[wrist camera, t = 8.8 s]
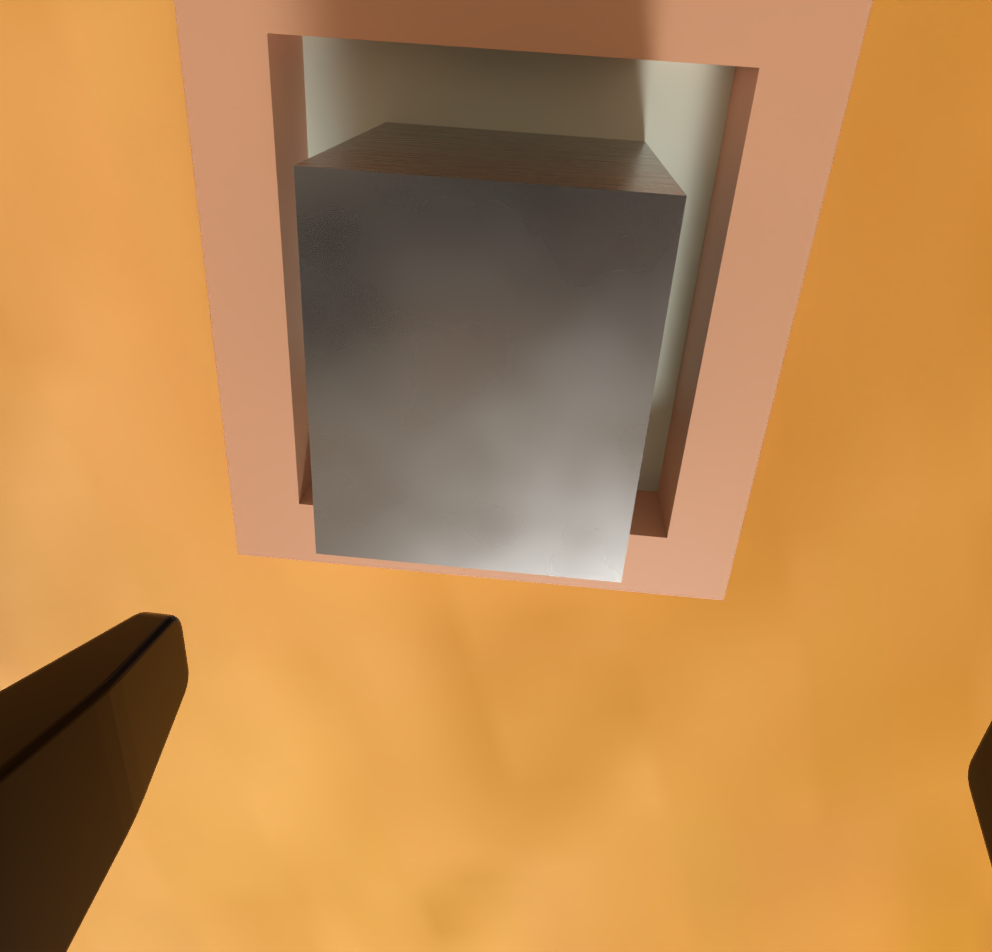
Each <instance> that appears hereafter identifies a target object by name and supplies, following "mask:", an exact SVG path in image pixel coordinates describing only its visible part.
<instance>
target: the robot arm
mask: <svg viewBox="0 0 992 952" xmlns="http://www.w3.org/2000/svg"><path fill="white" fill-rule="evenodd" d="M187 683H188V664H187V657H186V651H185V644H184V637H183V630H182V626H181V622H180V621H179V619H178V618H177V617H175V616H173V615H168V614H159V613H150V612H142V613H138V614H136V615H134V616H132V617H130V618H129V619H127V620H125V621H123V622H122V623H120V624H118V625H116V626H115V627H113V628H111V629H109V630H108V631H106V632H104V633H102V634H100V635H99V636H97V637H95V638H93V639H92V640H90V641H88V642H86V643H85V644H83V645H81V646H79V647H78V648H76V649H74V650H72V651H70V652H69V653H67V654H65V655H63V656H62V657H60V658H58V659H56V660H55V661H53V662H51V663H49V664H48V665H46V666H44V667H42V668H41V669H39V670H37V671H35V672H33V673H32V674H30V675H28V676H26V677H25V678H23V679H21V680H19V681H18V682H16V683H14V684H12V685H11V686H9V687H7V688H5V689H4V690H2V691H0V952H67V950H68V948H69V946H70V944H71V942H72V940H73V938H74V936H75V934H76V932H77V930H78V928H79V927H80V925H81V923H82V921H83V919H84V917H85V915H86V913H87V911H88V909H89V907H90V905H91V903H92V902H93V900H94V898H95V896H96V894H97V892H98V890H99V888H100V886H101V884H102V882H103V880H104V879H105V877H106V875H107V873H108V871H109V869H110V867H111V865H112V863H113V861H114V859H115V857H116V855H117V854H118V852H119V850H120V848H121V846H122V844H123V842H124V840H125V838H126V836H127V834H128V832H129V830H130V828H131V826H132V824H133V822H134V820H135V818H136V815H137V813H138V811H139V808H140V806H141V804H142V801H143V799H144V796H145V794H146V791H147V789H148V786H149V784H150V781H151V779H152V776H153V773H154V771H155V768H156V766H157V763H158V761H159V758H160V756H161V753H162V750H163V748H164V745H165V743H166V740H167V738H168V735H169V732H170V730H171V727H172V725H173V722H174V720H175V717H176V715H177V712H178V709H179V707H180V704H181V702H182V699H183V697H184V694H185V691H186V687H187ZM968 781H969V787H970V791H971V795H972V798H973V802H974V805H975V809H976V812H977V816H978V820H979V823H980V827H981V830H982V834H983V837H984V841H985V844H986V848H987V851H988V855H989V859H990V862H991V866H992V721H991V723H990V725H989V727H988V729H987V731H986V733H985V735H984V737H983V738H982V740H981V742H980V744H979V746H978V748H977V750H976V752H975V754H974V756H973V758H972V760H971V762H970V765H969V770H968Z"/></svg>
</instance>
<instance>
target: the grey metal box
mask: <svg viewBox="0 0 992 952" xmlns="http://www.w3.org/2000/svg"><path fill="white" fill-rule="evenodd" d="M294 181H295V198H296V215H297V233H298V250H299V267H300V285H301V302H302V319H303V337H304V354H305V371H306V389H307V406H308V423H309V441H310V458H311V475H312V493H313V510H314V527H315V545H316V554H325V555H335V556H346V557H356V558H367V559H378V560H388V561H399V562H409V563H420V564H430V565H441V566H451V567H462V568H472V569H483V570H494V571H504V572H515V573H525V574H536V575H546V576H557V577H567V578H578V579H588V580H599V581H610V582H620V583H621V581H622V575H623V569H624V563H625V557H626V552H627V546H628V540H629V534H630V528H631V522H632V516H633V510H634V504H635V498H636V493H637V487H638V481H639V475H640V469H641V463H642V457H643V451H644V445H645V439H646V434H647V428H648V422H649V416H650V410H651V404H652V398H653V392H654V386H655V380H656V375H657V369H658V363H659V357H660V351H661V345H662V339H663V333H664V327H665V321H666V316H667V310H668V304H669V298H670V292H671V286H672V280H673V274H674V268H675V262H676V257H677V251H678V245H679V239H680V233H681V227H682V221H683V215H684V209H685V203H686V198H687V195H686V194H685V193H684V191H683V190H682V189H681V188H680V186H679V185H678V184H677V182H676V181H675V180H674V178H673V177H672V176H671V175H670V173H669V172H668V171H667V169H666V168H665V167H664V166H663V164H662V163H661V162H660V160H659V159H658V158H657V156H656V155H655V154H654V153H653V151H652V150H651V149H650V147H649V146H648V145H647V143H646V142H645V141H632V140H619V139H605V138H592V137H579V136H565V135H552V134H538V133H525V132H512V131H498V130H485V129H471V128H458V127H445V126H431V125H418V124H404V123H391V122H385V123H383V124H381V125H379V126H376V127H374V128H372V129H370V130H368V131H366V132H364V133H362V134H359V135H357V136H355V137H353V138H351V139H349V140H347V141H345V142H342V143H340V144H338V145H336V146H334V147H332V148H330V149H328V150H325V151H323V152H321V153H319V154H317V155H315V156H313V157H311V158H308V159H306V160H304V161H302V162H300V163H298V164H296V165H294Z"/></svg>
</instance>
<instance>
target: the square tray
mask: <svg viewBox="0 0 992 952" xmlns="http://www.w3.org/2000/svg"><path fill="white" fill-rule="evenodd" d="M872 2H873V0H174V4H175V12H176V21H177V30H178V38H179V47H180V56H181V64H182V73H183V82H184V90H185V99H186V108H187V116H188V125H189V134H190V142H191V151H192V160H193V168H194V177H195V186H196V194H197V203H198V212H199V220H200V229H201V238H202V246H203V255H204V264H205V272H206V281H207V290H208V298H209V307H210V316H211V324H212V333H213V342H214V350H215V359H216V368H217V376H218V385H219V394H220V402H221V411H222V420H223V429H224V437H225V446H226V455H227V463H228V472H229V481H230V489H231V498H232V507H233V515H234V524H235V533H236V541H237V550H238V554H239V555H250V556H261V557H271V558H282V559H292V560H303V561H313V562H324V563H334V564H345V565H355V566H366V567H376V568H387V569H397V570H408V571H419V572H429V573H440V574H450V575H461V576H471V577H482V578H492V579H503V580H513V581H524V582H534V583H545V584H555V585H566V586H576V587H587V588H598V589H608V590H619V591H629V592H640V593H650V594H661V595H671V596H682V597H692V598H703V599H713V600H724V596H725V592H726V588H727V584H728V580H729V576H730V572H731V568H732V564H733V560H734V556H735V552H736V548H737V544H738V540H739V536H740V532H741V528H742V524H743V520H744V516H745V512H746V508H747V504H748V500H749V496H750V492H751V488H752V484H753V480H754V476H755V472H756V468H757V464H758V460H759V456H760V452H761V448H762V444H763V440H764V436H765V432H766V428H767V424H768V420H769V416H770V412H771V408H772V404H773V400H774V396H775V392H776V388H777V384H778V380H779V376H780V372H781V368H782V364H783V360H784V355H785V351H786V347H787V343H788V339H789V335H790V331H791V327H792V323H793V319H794V315H795V311H796V307H797V303H798V299H799V295H800V291H801V287H802V283H803V279H804V275H805V271H806V267H807V263H808V259H809V255H810V251H811V247H812V243H813V239H814V235H815V231H816V227H817V223H818V219H819V215H820V211H821V207H822V203H823V199H824V195H825V191H826V187H827V183H828V179H829V175H830V171H831V167H832V163H833V159H834V155H835V151H836V147H837V143H838V139H839V135H840V131H841V127H842V123H843V119H844V115H845V110H846V106H847V102H848V98H849V94H850V90H851V86H852V82H853V78H854V74H855V70H856V66H857V62H858V58H859V54H860V50H861V46H862V42H863V38H864V34H865V30H866V26H867V22H868V18H869V14H870V10H871V6H872ZM385 122H391V123H404V124H418V125H431V126H445V127H458V128H471V129H485V130H498V131H512V132H525V133H538V134H552V135H565V136H579V137H592V138H605V139H619V140H632V141H645V142H646V143H647V145H648V146H649V147H650V149H651V150H652V151H653V153H654V154H655V155H656V156H657V158H658V159H659V160H660V162H661V163H662V164H663V166H664V167H665V168H666V169H667V171H668V172H669V173H670V175H671V176H672V177H673V178H674V180H675V181H676V182H677V184H678V185H679V186H680V188H681V189H682V190H683V191H684V193H685V194H686V195H687V198H686V203H685V209H684V215H683V221H682V227H681V233H680V239H679V245H678V251H677V257H676V262H675V268H674V274H673V280H672V286H671V292H670V298H669V304H668V310H667V316H666V321H665V327H664V333H663V339H662V345H661V351H660V357H659V363H658V369H657V375H656V380H655V386H654V392H653V398H652V404H651V410H650V416H649V422H648V428H647V434H646V439H645V445H644V451H643V457H642V463H641V469H640V475H639V481H638V487H637V493H636V498H635V504H634V510H633V516H632V522H631V528H630V534H629V540H628V546H627V552H626V557H625V563H624V569H623V575H622V581H621V583H620V582H610V581H599V580H588V579H578V578H567V577H557V576H546V575H536V574H525V573H515V572H504V571H494V570H483V569H472V568H462V567H451V566H441V565H430V564H420V563H409V562H399V561H388V560H378V559H367V558H356V557H346V556H335V555H325V554H316V545H315V527H314V510H313V493H312V475H311V458H310V441H309V423H308V406H307V389H306V371H305V354H304V337H303V319H302V302H301V285H300V267H299V250H298V233H297V215H296V198H295V181H294V165H296V164H298V163H300V162H302V161H304V160H306V159H308V158H311V157H313V156H315V155H317V154H319V153H321V152H323V151H325V150H328V149H330V148H332V147H334V146H336V145H338V144H340V143H342V142H345V141H347V140H349V139H351V138H353V137H355V136H357V135H359V134H362V133H364V132H366V131H368V130H370V129H372V128H374V127H376V126H379V125H381V124H383V123H385Z"/></svg>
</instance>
